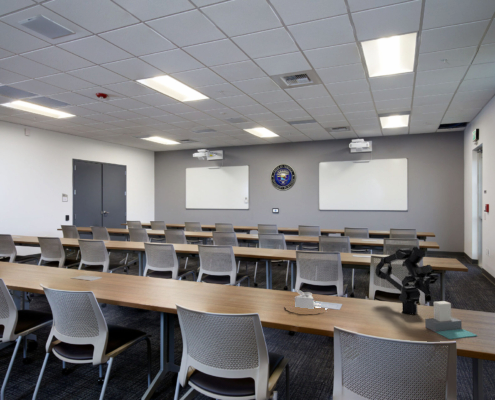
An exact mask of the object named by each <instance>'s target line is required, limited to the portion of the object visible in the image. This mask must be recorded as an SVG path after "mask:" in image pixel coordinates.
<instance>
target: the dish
mask: <svg viewBox="0 0 495 400" xmlns="http://www.w3.org/2000/svg"><path fill="white" fill-rule="evenodd" d="M296 292H297V294H299V295H296V296H294V301H295V307H300V308H308V309H314V307H315V308H321V307H319V306H320V305H321V304H319V303H315V302H314V301H315V299H314V297H313V296H312V295H313V293H312V292H310V291H305V292H303V291H302V290H300V289H297V290H296ZM327 309H328V310H329V307H328V308H325V310H327Z"/></svg>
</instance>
